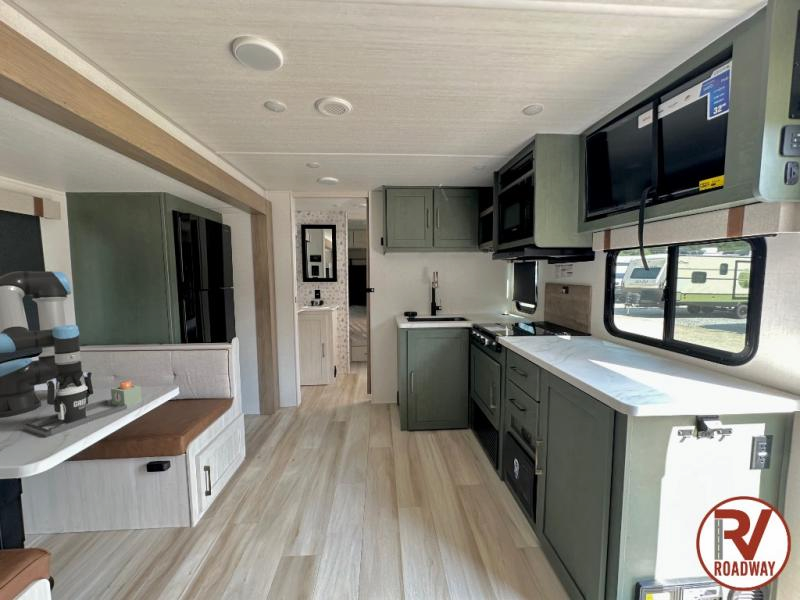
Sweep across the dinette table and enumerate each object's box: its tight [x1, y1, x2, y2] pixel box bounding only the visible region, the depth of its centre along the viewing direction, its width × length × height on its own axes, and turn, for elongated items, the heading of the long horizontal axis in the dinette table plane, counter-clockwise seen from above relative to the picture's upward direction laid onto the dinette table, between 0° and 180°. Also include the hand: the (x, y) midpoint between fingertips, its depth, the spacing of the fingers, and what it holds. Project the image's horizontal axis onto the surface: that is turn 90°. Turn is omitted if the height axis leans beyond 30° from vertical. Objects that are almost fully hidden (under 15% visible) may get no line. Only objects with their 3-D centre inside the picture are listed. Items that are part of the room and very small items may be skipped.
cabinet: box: [110, 384, 143, 407], centre depth 152 cm, size 10×8×8 cm
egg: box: [119, 380, 132, 390], centre depth 152 cm, size 4×4×6 cm
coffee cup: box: [54, 382, 88, 424], centre depth 134 cm, size 10×10×15 cm
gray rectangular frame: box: [23, 399, 128, 438], centre depth 136 cm, size 17×26×2 cm, turn 159°
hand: (72, 415), depth 134 cm, fingers closed on coffee cup, 6 cm apart
